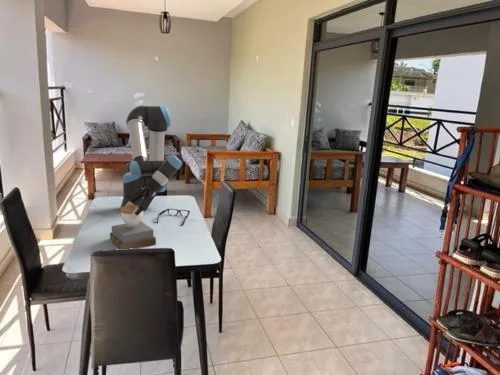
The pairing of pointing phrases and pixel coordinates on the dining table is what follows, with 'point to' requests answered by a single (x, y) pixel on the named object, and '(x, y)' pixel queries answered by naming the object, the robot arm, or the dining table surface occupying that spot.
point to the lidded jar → (127, 211)
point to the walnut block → (132, 244)
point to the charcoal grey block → (132, 232)
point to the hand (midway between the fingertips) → (126, 216)
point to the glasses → (176, 214)
